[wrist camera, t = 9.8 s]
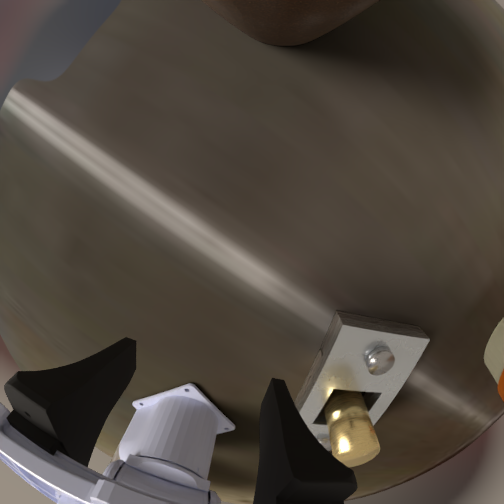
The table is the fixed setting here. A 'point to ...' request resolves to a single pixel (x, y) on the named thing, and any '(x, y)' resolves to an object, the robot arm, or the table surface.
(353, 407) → the brass pin
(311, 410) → the square-hole plate
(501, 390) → the reusable coffee cup
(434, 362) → the table surface
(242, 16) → the plant pot
